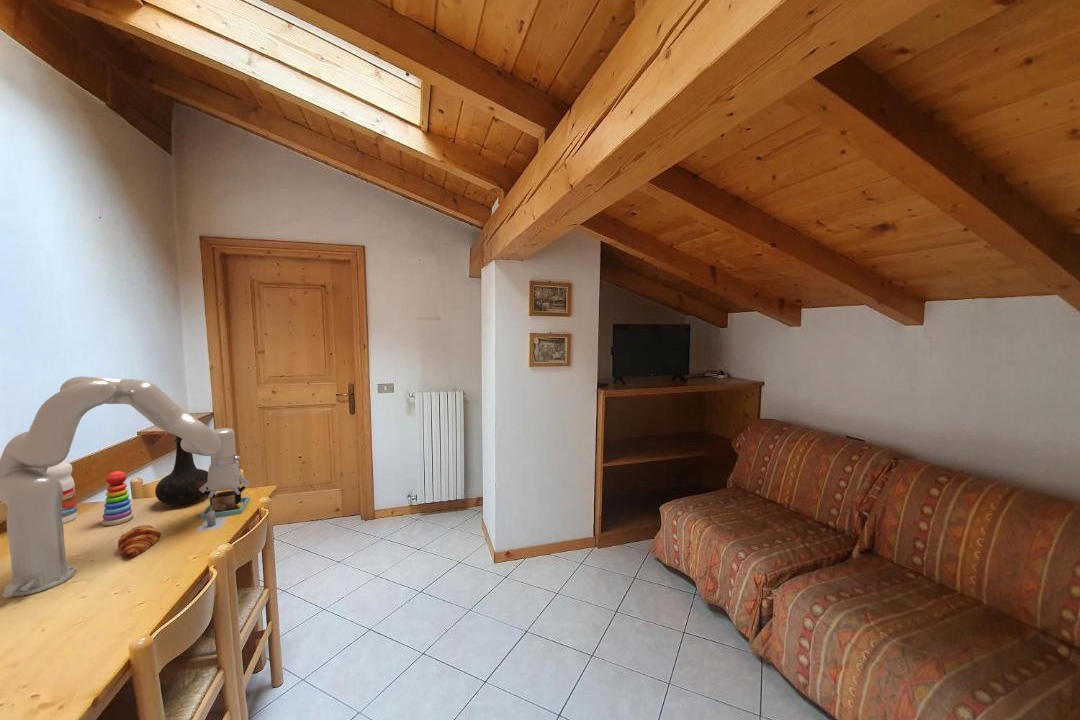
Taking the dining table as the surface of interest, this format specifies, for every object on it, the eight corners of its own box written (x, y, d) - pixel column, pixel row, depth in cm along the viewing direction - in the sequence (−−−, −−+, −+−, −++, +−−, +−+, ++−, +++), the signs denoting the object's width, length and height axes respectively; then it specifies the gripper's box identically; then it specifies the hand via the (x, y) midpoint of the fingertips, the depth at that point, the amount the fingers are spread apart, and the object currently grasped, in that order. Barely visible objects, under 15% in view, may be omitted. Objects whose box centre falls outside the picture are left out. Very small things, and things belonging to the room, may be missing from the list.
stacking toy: (117, 526, 143) (113, 476, 142) (95, 526, 144) (91, 476, 142) (139, 516, 151) (135, 468, 150) (119, 515, 151) (115, 468, 150)
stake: (220, 529, 142) (219, 514, 142) (195, 533, 140) (194, 518, 139) (228, 518, 151) (227, 504, 150) (205, 521, 148) (204, 507, 147)
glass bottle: (149, 514, 153) (143, 443, 150) (165, 496, 168) (160, 432, 166) (208, 505, 161) (204, 437, 159) (218, 488, 177) (214, 427, 174)
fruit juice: (43, 519, 148) (36, 446, 145) (81, 512, 153) (74, 442, 151) (32, 530, 140) (24, 453, 138) (72, 522, 146) (65, 448, 143)
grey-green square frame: (241, 515, 153) (241, 509, 153) (200, 521, 148) (200, 515, 148) (250, 501, 165) (250, 496, 164) (212, 506, 160) (212, 501, 159)
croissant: (137, 544, 139) (120, 527, 136) (170, 524, 144) (155, 507, 141) (119, 574, 122) (100, 556, 119) (158, 550, 126) (140, 532, 124)
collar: (239, 500, 161) (238, 489, 160) (232, 508, 153) (232, 497, 153) (218, 503, 158) (217, 492, 158) (211, 512, 150) (210, 500, 150)
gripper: (253, 455, 161) (255, 497, 163) (199, 460, 155) (202, 504, 156) (247, 460, 155) (250, 505, 156) (191, 466, 148) (194, 512, 149)
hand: (226, 504), depth 156 cm, fingers closed on collar, 6 cm apart
